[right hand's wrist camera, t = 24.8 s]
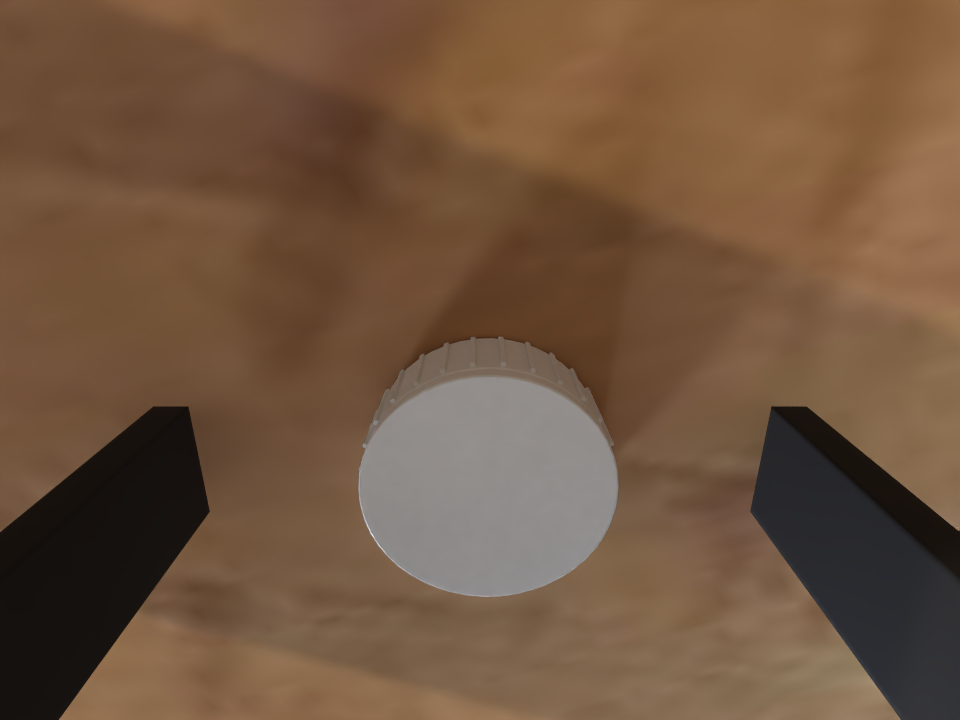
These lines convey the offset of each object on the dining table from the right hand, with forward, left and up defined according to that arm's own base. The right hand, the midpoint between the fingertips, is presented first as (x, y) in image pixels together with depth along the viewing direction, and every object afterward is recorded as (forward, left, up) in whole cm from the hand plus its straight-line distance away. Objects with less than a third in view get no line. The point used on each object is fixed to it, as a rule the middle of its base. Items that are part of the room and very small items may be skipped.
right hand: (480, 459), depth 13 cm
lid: (0, 0, +1) cm, 1 cm away
